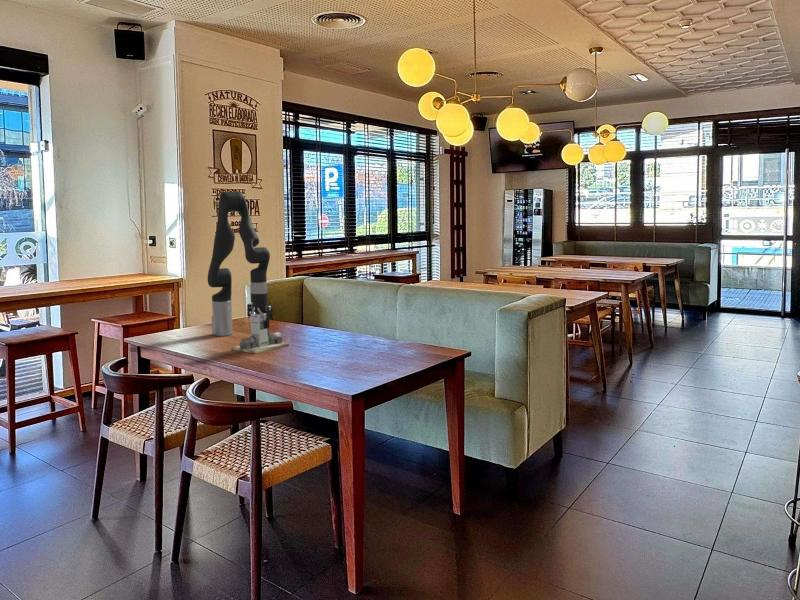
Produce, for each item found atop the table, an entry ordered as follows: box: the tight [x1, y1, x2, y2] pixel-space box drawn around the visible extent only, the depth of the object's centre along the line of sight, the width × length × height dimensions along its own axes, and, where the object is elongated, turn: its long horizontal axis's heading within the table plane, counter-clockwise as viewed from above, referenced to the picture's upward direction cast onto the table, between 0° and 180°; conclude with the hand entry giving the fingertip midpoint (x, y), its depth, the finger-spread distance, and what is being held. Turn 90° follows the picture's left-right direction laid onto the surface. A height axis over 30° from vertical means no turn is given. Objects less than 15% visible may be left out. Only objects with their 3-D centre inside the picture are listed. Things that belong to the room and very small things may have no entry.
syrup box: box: [249, 313, 270, 346], centre depth 283 cm, size 6×6×14 cm
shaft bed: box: [231, 331, 290, 355], centre depth 284 cm, size 16×21×6 cm
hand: (260, 327), depth 283 cm, fingers open, 8 cm apart
